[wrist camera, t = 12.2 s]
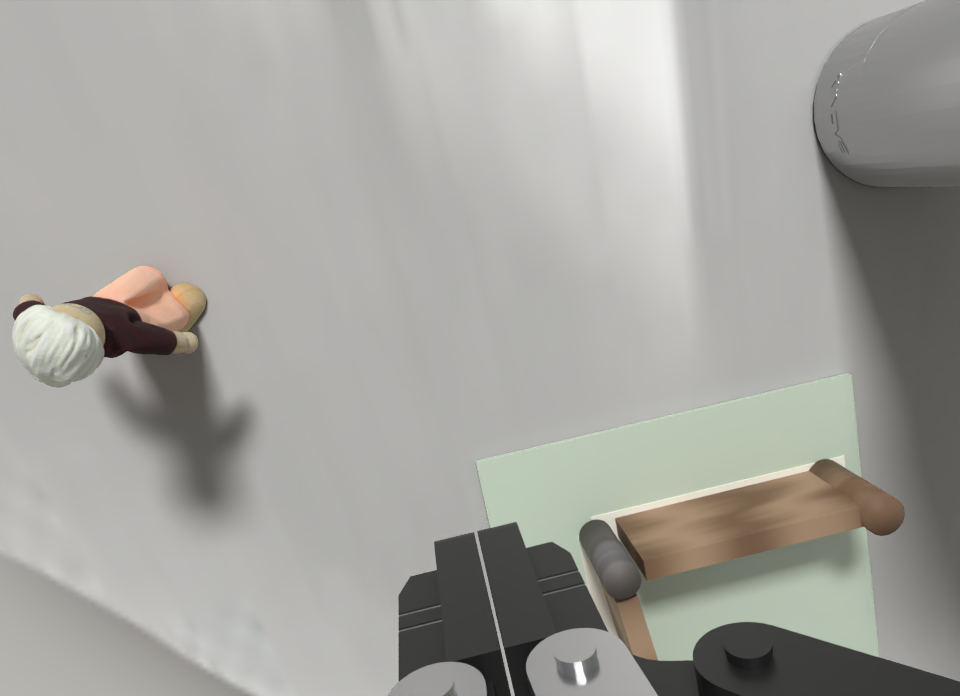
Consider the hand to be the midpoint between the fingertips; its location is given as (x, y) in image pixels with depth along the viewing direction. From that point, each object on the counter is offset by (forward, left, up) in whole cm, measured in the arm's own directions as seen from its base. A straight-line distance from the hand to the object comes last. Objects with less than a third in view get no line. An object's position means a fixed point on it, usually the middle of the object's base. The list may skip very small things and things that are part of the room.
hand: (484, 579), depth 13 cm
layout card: (-12, +19, -29) cm, 37 cm away
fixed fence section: (-16, +15, -29) cm, 36 cm away
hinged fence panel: (-8, +22, -28) cm, 36 cm away
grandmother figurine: (+14, -4, -29) cm, 33 cm away
